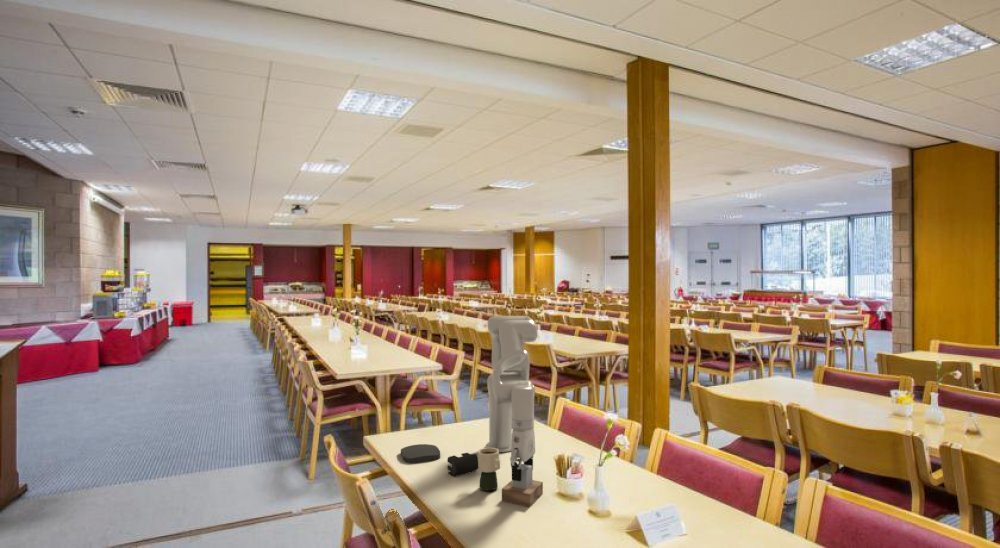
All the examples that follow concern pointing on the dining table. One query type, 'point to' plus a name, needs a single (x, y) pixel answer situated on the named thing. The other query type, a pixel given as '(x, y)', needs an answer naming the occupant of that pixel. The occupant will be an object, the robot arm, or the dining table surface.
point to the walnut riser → (522, 493)
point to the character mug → (488, 467)
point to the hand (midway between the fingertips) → (522, 475)
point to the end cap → (462, 464)
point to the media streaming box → (420, 453)
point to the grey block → (524, 477)
